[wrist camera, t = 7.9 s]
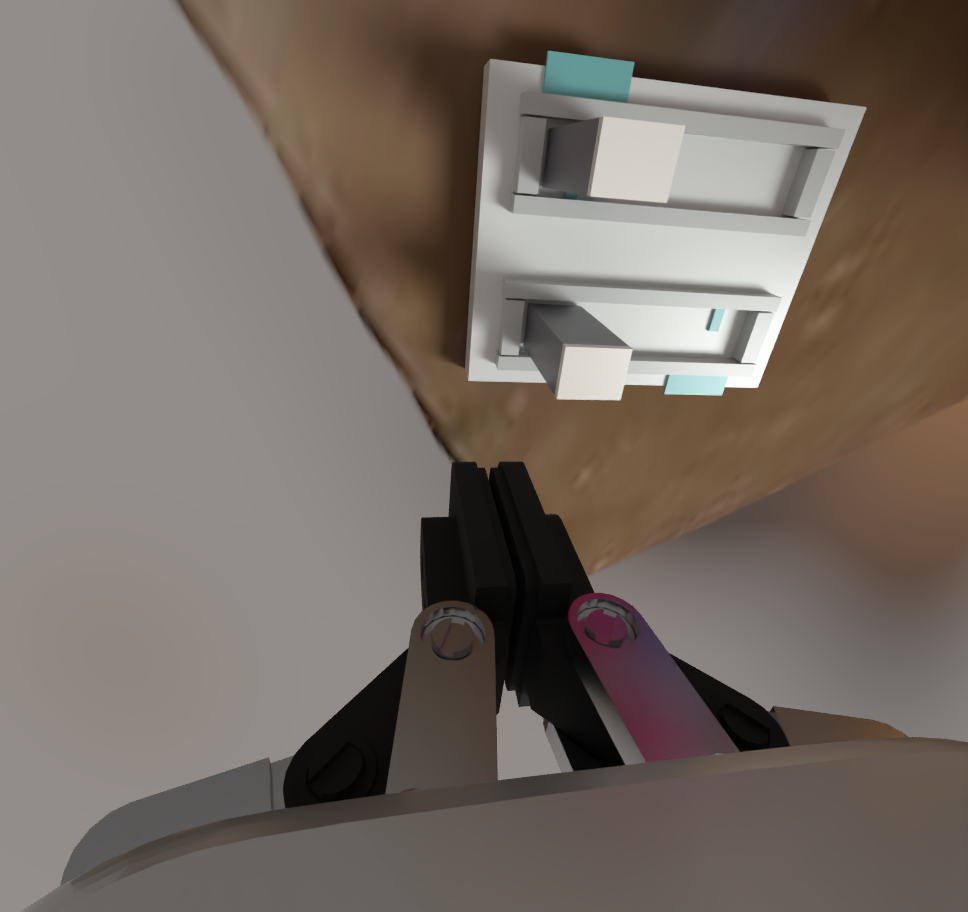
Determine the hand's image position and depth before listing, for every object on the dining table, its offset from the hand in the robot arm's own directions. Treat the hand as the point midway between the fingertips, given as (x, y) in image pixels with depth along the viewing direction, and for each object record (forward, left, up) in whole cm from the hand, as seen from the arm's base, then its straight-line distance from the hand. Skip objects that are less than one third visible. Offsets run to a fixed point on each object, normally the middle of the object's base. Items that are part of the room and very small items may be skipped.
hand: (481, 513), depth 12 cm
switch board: (-11, -4, -20) cm, 23 cm away
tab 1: (-6, -8, -17) cm, 20 cm away
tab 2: (-6, 0, -17) cm, 19 cm away
